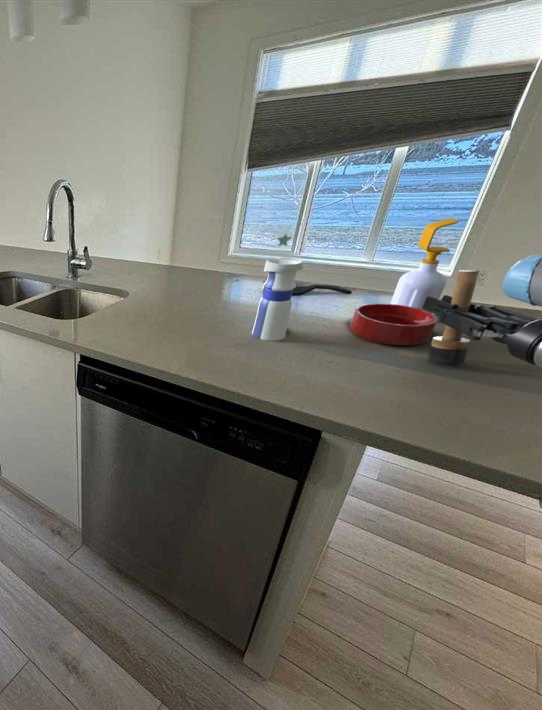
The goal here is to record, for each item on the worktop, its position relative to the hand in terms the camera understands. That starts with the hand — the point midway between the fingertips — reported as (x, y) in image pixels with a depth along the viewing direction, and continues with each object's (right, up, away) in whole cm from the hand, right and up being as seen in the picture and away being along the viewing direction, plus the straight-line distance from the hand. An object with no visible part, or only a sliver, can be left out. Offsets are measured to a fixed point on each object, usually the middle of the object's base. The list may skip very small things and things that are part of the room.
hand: (434, 302), depth 88 cm
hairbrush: (+1, +12, +43) cm, 45 cm away
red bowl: (+1, -6, +13) cm, 14 cm away
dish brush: (+1, -13, -2) cm, 13 cm away
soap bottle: (+14, 0, +21) cm, 25 cm away
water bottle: (-26, -5, +18) cm, 32 cm away
